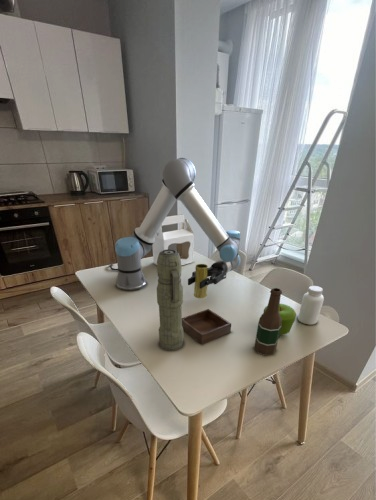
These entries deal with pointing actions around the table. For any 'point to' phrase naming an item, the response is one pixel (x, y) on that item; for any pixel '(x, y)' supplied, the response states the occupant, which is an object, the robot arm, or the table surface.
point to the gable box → (175, 239)
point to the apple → (286, 317)
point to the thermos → (170, 299)
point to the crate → (205, 326)
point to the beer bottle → (269, 325)
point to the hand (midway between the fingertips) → (194, 283)
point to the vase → (200, 276)
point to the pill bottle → (311, 305)
